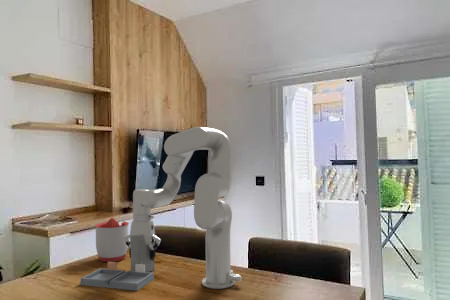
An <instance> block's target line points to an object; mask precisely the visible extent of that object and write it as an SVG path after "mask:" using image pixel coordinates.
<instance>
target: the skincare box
mask: <svg viewBox="0 0 450 300" xmlns="http://www.w3.org/2000/svg"><path fill="white" fill-rule="evenodd" d="M130 239H131V258H130V271H135V264H144V265H145V272H150V273H152V272H153V271H155V258H154V259H152V260H151V259H150V250H151V248H150V247H149V246H148V245H145V241H144V236H130V238H129V240H130ZM152 241H153V242H154V239H152ZM154 243H155V242H154Z"/></svg>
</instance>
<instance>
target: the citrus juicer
mask: <svg viewBox="0 0 450 300" xmlns="http://www.w3.org/2000/svg"><path fill="white" fill-rule="evenodd" d="M129 224H130V223H129V222H128V221H122V222H121V224H119V222H118V221H117V220H116V219H115V218H113V217H111V218H110V219H108V221H106V222H100V223H97V224H95V225H94V227H95V247H96V253H97V257H98V260H99V261H101V262H103V263H104V262H105V263H108V262H117V263H118V262H119V261H122V260H124V259H125V258H126V256H127V252H128V249H129V248H128V246H127V245H126V242H125V240H124V237H126V236H128V235H129Z"/></svg>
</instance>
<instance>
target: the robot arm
mask: <svg viewBox="0 0 450 300" xmlns="http://www.w3.org/2000/svg"><path fill="white" fill-rule="evenodd" d="M163 149H164V152H165V154H166V155H167V157H166V158H165V161H164V162H163V164H162V169H163V171H164V172H165V173H166V174H167V178H166V181H165V183H164V184H163V186H162V187H161V188H155V189H148V188H138V189H134V190H133V193H132V218H133V219H132V221H131V224H130V231H129V232H130V233H129V234H128V236H126V237H124V240H125V242H126V245H127V246H128V249H129V250H128V251H129V259H131V239H130V236H144V241H145V245H148V246H149V247H150V248H151V250H150V259H151V260H152V259H154V260H155V258H156V250H157V249H158V247H159V246H160V243H161V241H162V239H161V238H160V237H158V236H157V235H156V230H155V224H154V221H153V220H154V218H155V217H154V215H152V209H156V208H160V207H164V206H168V205H169V204H171V203H172V202H173V201H174V199H175V198H176V195H177V194H178V193H179V191H180V188H181V182H182V174H183V172H184V170H185V168H186V167H187V164H188V163H189V162H190V160H191V158H192V156H193V154H194V152H195V151H199V150H201V151H202V150H203V151H204V150H206V151H208V150H209V151H211V152H210V156H209V159H208V173H204V174H203V175H201V176H200V177H199V178H198V179H197V180H196V183H195V188H194V200H193V201H194V202H193V203H194V204H193V218H194V221H195V222H194V223H195V224H196V225H197V227H198V228H199V229H201V230H205V231H206V232H205V277H203V278H202V280H201V284H202V286H203V287H206V288H207V289H215V290H217V289H218V290H219V289H221V290H222V289H227V288H230V287H233V286H234V285H235V283H236V282H242V276H241V275H240V274H237V273H236V274H235V273H234V270H233V269H231V261H232V260H231V226H232V220H233V219H232V218H233V217H232V216H233V211H232V209H231V206H230V204H228V203H227V202H226V201H224V200H219V198H222V197H225V196H226V195H228V193H229V192H230V189H231V187H230V186H231V165H232V143H231V140H230V139H229V136H228V135H227V134H225V133H224V132H222V130H219V129H216V128H211V127H203V126H195V127H192V128H188V129H186V130H182V131H179V132H177V133H174V134H171V135H170V136H169V137H167V138H166V140H165V141H164V145H163ZM152 219H153V220H152ZM152 239H154V242H153V241H152Z"/></svg>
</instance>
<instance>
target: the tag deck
mask: <svg viewBox="0 0 450 300" xmlns="http://www.w3.org/2000/svg"><path fill="white" fill-rule="evenodd" d="M154 274H155V273H154V272H145V265H144V264H135V271H131V270H127V271H126V270H124V269H118V261H117V262H107V268H99V269H96V270H94V271H92V272H91V273H89V274H86V275H85V276H82V277H81V278H80V282H79V285H80V286H88V287H99V288H105V287H106V288H109V289H115V288H116V289H117V290H127V291H139V290H141V289H142V288H144V287H145V286H146V285H148V284H149V283H151V282H152V281H154V280H155V276H154Z"/></svg>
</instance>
